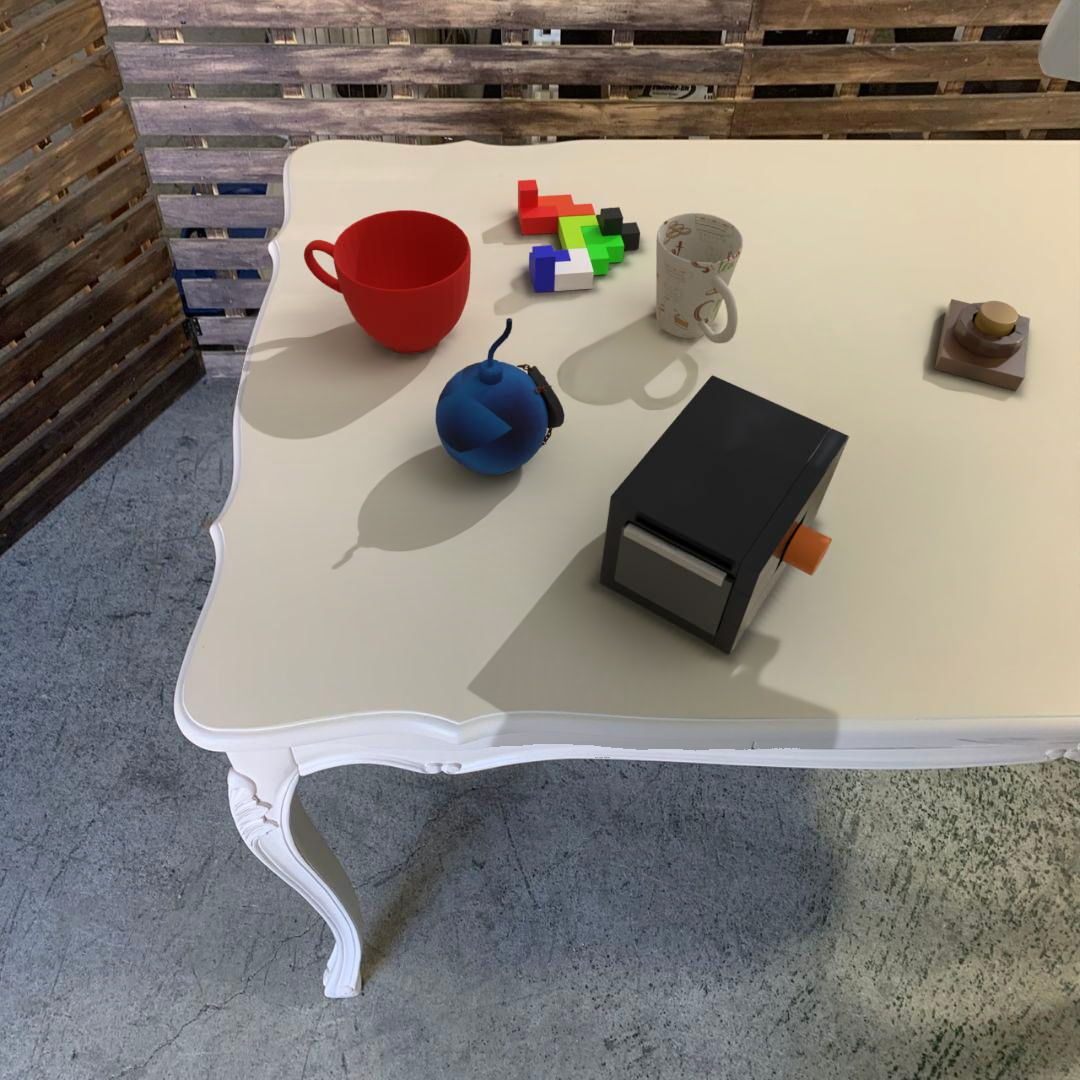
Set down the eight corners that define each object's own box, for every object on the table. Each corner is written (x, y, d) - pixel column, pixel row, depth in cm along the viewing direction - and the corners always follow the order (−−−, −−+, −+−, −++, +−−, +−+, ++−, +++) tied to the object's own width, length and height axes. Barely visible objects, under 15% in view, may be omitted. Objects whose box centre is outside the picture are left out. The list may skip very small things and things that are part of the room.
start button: (1011, 320, 91) (1019, 305, 90) (1009, 341, 89) (1017, 327, 88) (975, 311, 92) (982, 297, 91) (972, 332, 90) (979, 318, 88)
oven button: (824, 556, 71) (836, 531, 68) (807, 583, 69) (819, 558, 66) (795, 541, 71) (805, 516, 69) (778, 568, 70) (788, 543, 67)
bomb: (575, 471, 81) (586, 342, 69) (465, 511, 78) (456, 382, 66) (528, 403, 87) (530, 271, 75) (423, 437, 84) (408, 306, 72)
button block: (1022, 330, 95) (1038, 303, 92) (1016, 390, 89) (1032, 364, 86) (945, 311, 97) (958, 284, 94) (934, 369, 91) (947, 342, 88)
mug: (696, 287, 98) (713, 204, 90) (762, 357, 91) (786, 274, 84) (630, 307, 96) (641, 224, 88) (693, 380, 89) (711, 298, 81)
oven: (812, 524, 78) (849, 435, 70) (722, 666, 69) (752, 585, 61) (691, 465, 82) (712, 374, 73) (591, 592, 73) (601, 506, 65)
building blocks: (650, 284, 98) (655, 250, 95) (534, 292, 97) (534, 258, 94) (623, 207, 107) (627, 174, 104) (516, 214, 106) (517, 180, 103)
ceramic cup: (342, 277, 98) (327, 193, 90) (490, 306, 95) (488, 222, 88) (291, 352, 90) (269, 268, 82) (450, 386, 88) (443, 302, 80)
